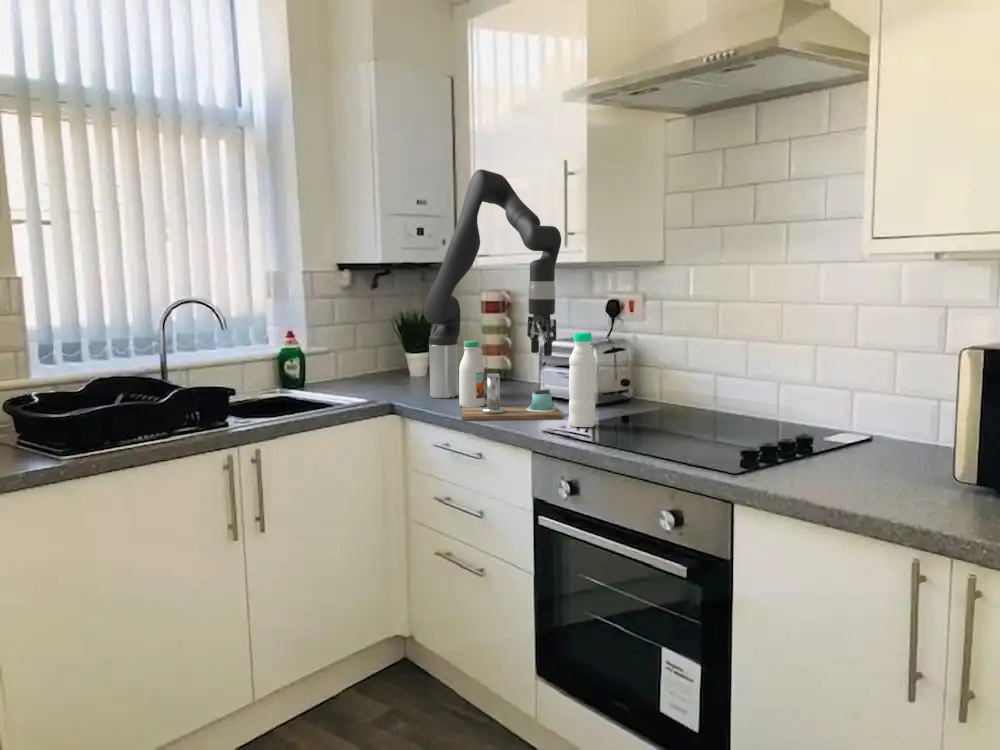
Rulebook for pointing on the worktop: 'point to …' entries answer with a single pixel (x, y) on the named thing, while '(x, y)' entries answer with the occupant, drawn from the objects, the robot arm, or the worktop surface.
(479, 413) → the board
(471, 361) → the milk bottle
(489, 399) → the post
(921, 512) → the worktop surface
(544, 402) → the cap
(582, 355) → the white bottle
